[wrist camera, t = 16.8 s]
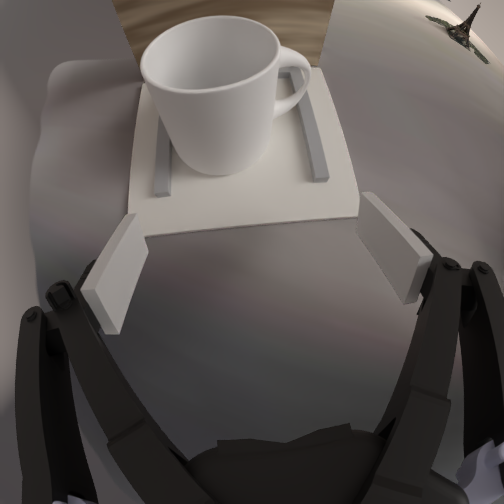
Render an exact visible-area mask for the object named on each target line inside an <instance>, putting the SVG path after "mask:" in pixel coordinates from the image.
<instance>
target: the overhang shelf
mask: <svg viewBox="0 0 504 504" xmlns="http://www.w3.org/2000/svg"><path fill="white" fill-rule="evenodd" d="M112 2H113V5H114V7H115V10H116V12H117V15H118V17H119V20H120V22H121V25H122V27H123V30H124V32H125V35H126V37H127V39H128V42H129V44H130V47H131V49H132V52H133V54H134V56H135V59H136V61H137V63H138V66H139V68H140V62H141V57H142V55H143V53H144V51H145V49H146V48H147V47H148V45H149V44H150V43H151V42H152V41H153V40H154V39H155V38H156V37H158V36H159V35H160V34H162V33H163V32H165V31H166V30H168V29H170V28H172V27H174V26H176V25H178V24H180V23H183V22H186V21H189V20H193V19H196V18H201V17H208V16H219V15H227V16H237V17H243V18H248V19H251V20H254V21H257V22H259V23H261V24H263V25H265V26H266V27H268V28H269V29H270V30H272V31H273V32H274V33H275V35H276V36H277V38H278V39H279V42H280V45H281V46H283V47H287V48H290V49H292V50H294V51H296V52H298V53H300V54H301V55H303V56H304V57H305V58H306V59H307V61H308V62H309V64H310V65H311V66H318V62H319V59H320V55H321V51H322V47H323V43H324V39H325V36H326V32H327V28H328V24H329V20H330V16H331V12H332V8H333V4H334V0H112ZM140 71H141V70H140Z"/></svg>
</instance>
